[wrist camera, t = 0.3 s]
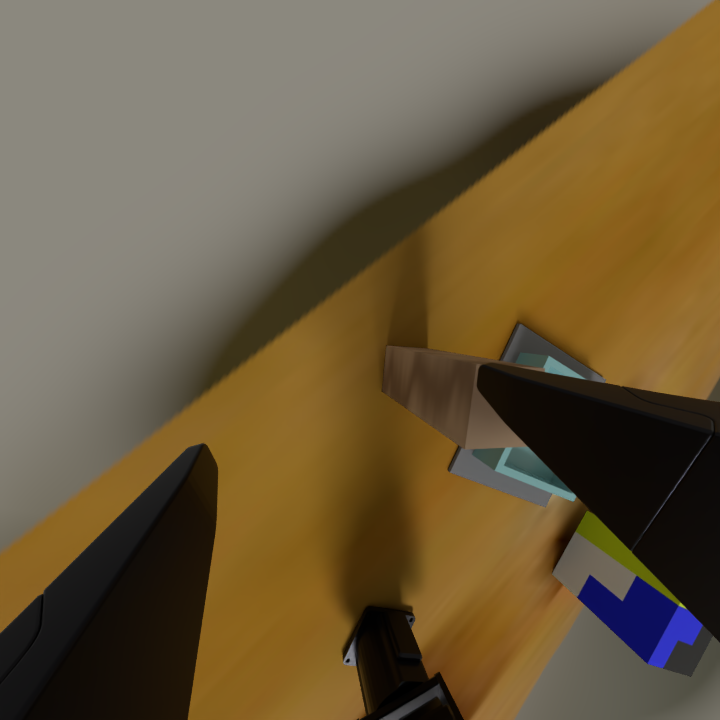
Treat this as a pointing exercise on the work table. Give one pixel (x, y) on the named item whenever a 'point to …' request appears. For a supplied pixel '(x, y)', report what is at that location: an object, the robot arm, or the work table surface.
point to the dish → (522, 459)
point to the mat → (464, 459)
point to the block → (447, 395)
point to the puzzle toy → (630, 599)
